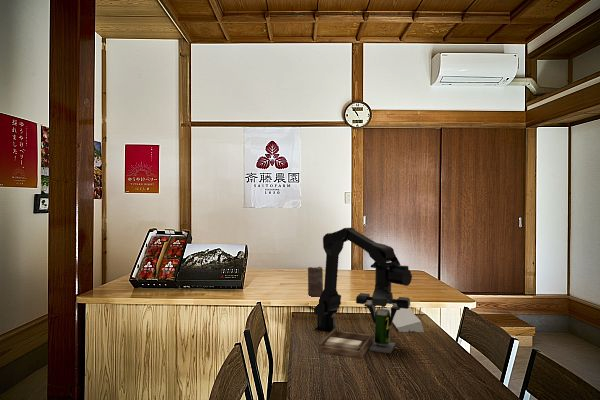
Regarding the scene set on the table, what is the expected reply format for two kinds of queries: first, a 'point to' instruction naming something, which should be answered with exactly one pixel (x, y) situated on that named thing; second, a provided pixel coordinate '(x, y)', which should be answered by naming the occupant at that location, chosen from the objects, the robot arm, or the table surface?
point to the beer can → (382, 327)
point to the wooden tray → (345, 352)
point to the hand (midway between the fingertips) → (382, 324)
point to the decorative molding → (406, 320)
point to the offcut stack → (343, 343)
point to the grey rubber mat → (382, 347)
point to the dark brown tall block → (315, 281)
